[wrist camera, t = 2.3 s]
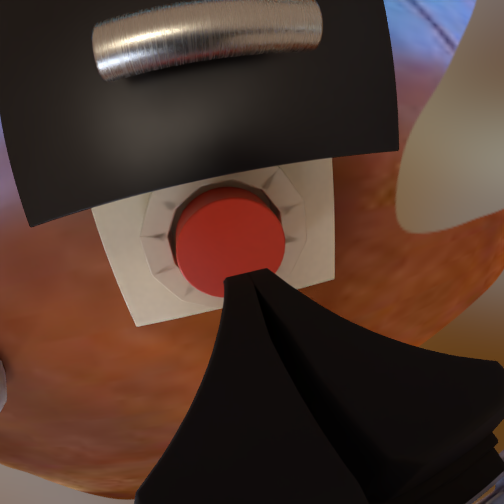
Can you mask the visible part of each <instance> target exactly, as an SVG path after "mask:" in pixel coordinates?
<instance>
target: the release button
mask: <svg viewBox="0 0 504 504" xmlns="http://www.w3.org/2000/svg"><path fill="white" fill-rule="evenodd" d="M284 252H285V235H284V231H283V227H282V225H281V223H280V221H279V219H278V218H277V217H276V215H275V214H274V213H273V212H272V211H271V209H270V208H269V207H268V206H267V205H266V204H265V203H264V202H263V201H262V200H261V199H260V198H259V197H258V196H257V195H255V194H253V193H252V192H250V191H248V190H245V189H242V188H238V187H219V188H214V189H211V190H208V191H206V192H204V193H202V194H200V195H199V196H197V197H196V198H194V199H193V200H192V201H191V202H190V203H189V204H188V205H187V206H186V208H185V209H184V210H183V212H182V214H181V216H180V218H179V220H178V223H177V228H176V258H177V263H178V266H179V269H180V271H181V273H182V275H183V276H184V277H185V279H186V280H187V281H188V282H189V283H190V284H191V285H192V286H193V287H195V288H196V289H197V290H199V291H201V292H203V293H205V294H208V295H211V296H214V297H221V298H224V284H223V281H224V280H225V278H226V277H230V276H234V275H239V274H243V273H247V272H251V271H255V270H260V269H264V268H268V269H269V270H271V271H272V272H273V273H276V272H277V270H278V268H279V266H280V265H281V262H282V260H283V256H284Z"/></svg>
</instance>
